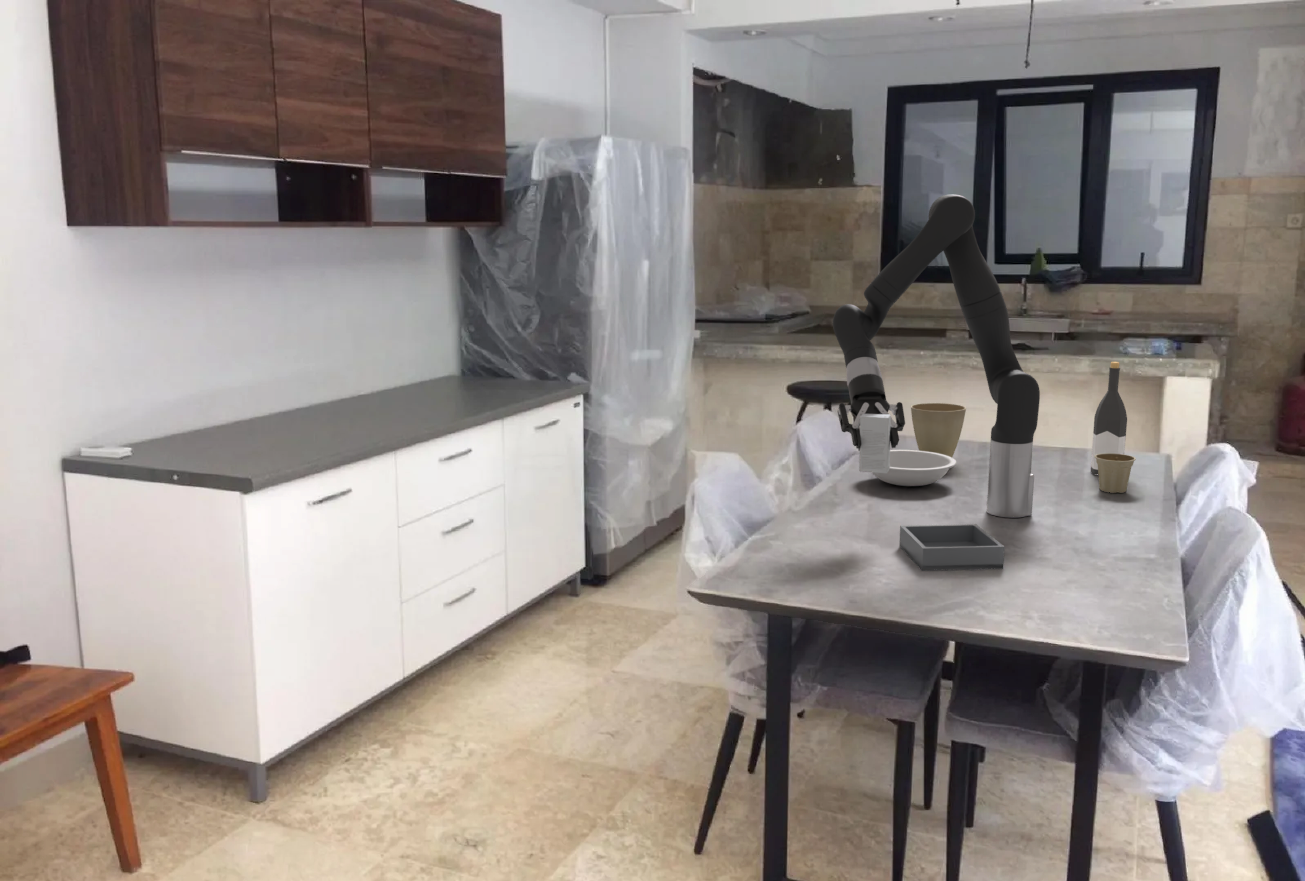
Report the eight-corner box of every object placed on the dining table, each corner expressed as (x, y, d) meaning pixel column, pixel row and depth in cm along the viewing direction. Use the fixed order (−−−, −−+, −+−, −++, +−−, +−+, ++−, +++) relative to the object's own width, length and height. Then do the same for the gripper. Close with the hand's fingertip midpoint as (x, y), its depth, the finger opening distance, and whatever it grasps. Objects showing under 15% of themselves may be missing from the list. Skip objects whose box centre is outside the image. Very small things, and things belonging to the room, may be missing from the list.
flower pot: (1092, 493, 265) (1094, 459, 263) (1092, 484, 273) (1094, 451, 271) (1133, 496, 261) (1136, 462, 259) (1132, 488, 270) (1135, 454, 268)
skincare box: (889, 469, 228) (891, 414, 225) (887, 473, 224) (889, 417, 221) (861, 467, 230) (862, 412, 227) (858, 472, 226) (859, 416, 223)
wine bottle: (1125, 472, 286) (1134, 361, 280) (1119, 478, 280) (1129, 364, 274) (1093, 469, 291) (1101, 359, 285) (1087, 474, 284) (1095, 362, 278)
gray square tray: (974, 544, 223) (976, 524, 222) (1003, 568, 207) (1004, 546, 206) (899, 546, 222) (900, 525, 221) (922, 570, 206) (923, 548, 206)
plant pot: (961, 458, 305) (964, 403, 302) (964, 469, 291) (967, 412, 288) (908, 456, 309) (910, 401, 306) (908, 467, 294) (910, 410, 291)
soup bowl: (941, 499, 260) (942, 473, 258) (847, 488, 271) (847, 463, 270) (965, 479, 280) (966, 454, 279) (876, 469, 292) (877, 446, 290)
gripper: (835, 373, 230) (846, 437, 221) (901, 371, 230) (914, 435, 221) (829, 393, 236) (840, 456, 227) (893, 392, 237) (906, 455, 228)
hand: (876, 446), depth 224 cm, fingers closed on skincare box, 7 cm apart
